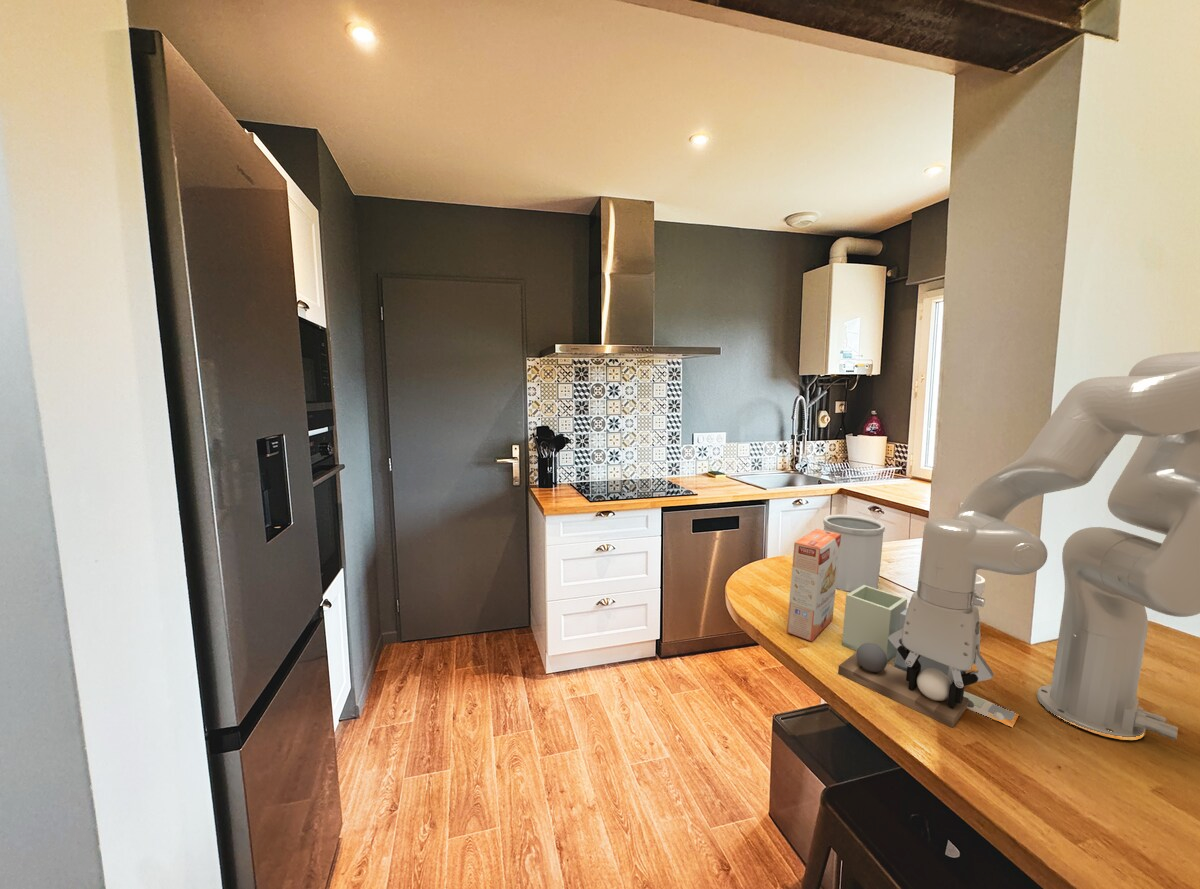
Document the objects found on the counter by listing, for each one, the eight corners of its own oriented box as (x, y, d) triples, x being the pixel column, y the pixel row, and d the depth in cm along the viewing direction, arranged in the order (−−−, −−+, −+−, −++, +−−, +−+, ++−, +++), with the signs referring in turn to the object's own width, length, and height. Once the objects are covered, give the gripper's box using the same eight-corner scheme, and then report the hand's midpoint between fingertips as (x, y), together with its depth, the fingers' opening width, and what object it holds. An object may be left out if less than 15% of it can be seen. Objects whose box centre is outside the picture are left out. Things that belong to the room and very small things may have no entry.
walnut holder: (967, 707, 81) (968, 698, 81) (952, 727, 76) (953, 718, 76) (856, 658, 95) (857, 651, 94) (838, 673, 90) (838, 665, 89)
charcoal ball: (890, 671, 89) (892, 646, 88) (879, 681, 85) (881, 655, 85) (862, 659, 92) (864, 635, 92) (850, 668, 89) (852, 643, 89)
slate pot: (960, 672, 91) (967, 617, 89) (946, 689, 85) (953, 631, 84) (910, 652, 97) (916, 601, 96) (894, 667, 92) (900, 613, 90)
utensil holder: (823, 590, 127) (828, 526, 124) (815, 569, 141) (820, 511, 139) (885, 598, 122) (892, 532, 120) (871, 576, 137) (876, 516, 134)
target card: (1019, 717, 79) (1020, 709, 79) (1012, 730, 76) (1013, 722, 76) (961, 692, 85) (962, 685, 85) (952, 704, 82) (953, 696, 82)
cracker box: (814, 644, 100) (821, 547, 97) (785, 633, 104) (792, 540, 101) (835, 620, 110) (842, 532, 107) (808, 611, 114) (814, 527, 112)
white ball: (954, 699, 81) (958, 672, 80) (945, 711, 78) (948, 683, 77) (921, 685, 85) (924, 658, 84) (910, 696, 82) (913, 668, 81)
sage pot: (902, 649, 98) (907, 598, 97) (885, 663, 93) (890, 610, 92) (859, 632, 105) (863, 584, 103) (841, 644, 100) (846, 594, 98)
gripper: (1016, 607, 75) (1002, 713, 77) (896, 572, 88) (887, 664, 90) (1005, 621, 70) (989, 734, 72) (879, 582, 83) (870, 679, 85)
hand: (932, 694), depth 81 cm, fingers closed on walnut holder, 5 cm apart
